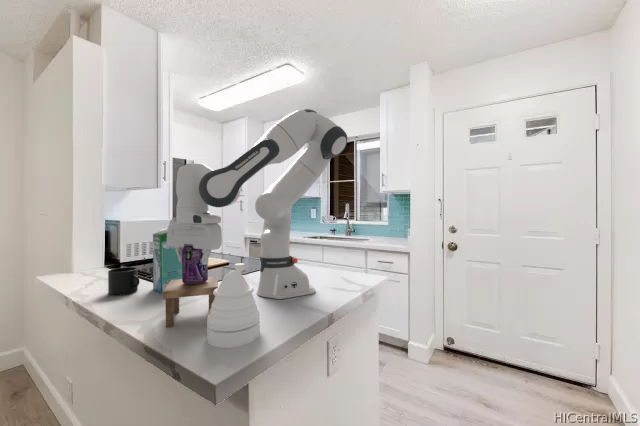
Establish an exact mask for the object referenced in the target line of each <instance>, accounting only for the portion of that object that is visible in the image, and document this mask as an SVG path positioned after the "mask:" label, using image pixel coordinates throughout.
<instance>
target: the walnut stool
mask: <svg viewBox="0 0 640 426" xmlns="http://www.w3.org/2000/svg"><path fill="white" fill-rule="evenodd" d="M218 287H219V276H208V280H207V281H205V282H204V283H202V284H198V285H187V284H185V283H183V282H182V279H176V280H171V281H170V282H169V283H168V285H167V286H166V288H165V289H164V290H163V293H162V300H165V328H170V327H174V325H175V314H179V313H180V298H188V297H197V296H198V297H200V296H208V315H209V314H210V309H211V308H212V307H211V305H212V303H213V301H214V298H215V295H214V294H213V291H214V290H215V289H216V288H218Z"/></svg>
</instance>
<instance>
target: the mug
mask: <svg viewBox="0 0 640 426" xmlns="http://www.w3.org/2000/svg"><path fill="white" fill-rule="evenodd" d="M107 273H108V274H107V275H108V276H107V277H108V279H107V280H108V282H107V283H108V284H107V287H108V288H107V290H108V292H107V293H108V296H112V297H115V296H116V297H119V296H120V297H121V296H127V295H131V294H134V293H137V291H138V289H139V288H138V287H139V285H140V278H139V276H138V273H139V272H138V267H134V266H133V267H132V266H130V267H129V266H128V267H127V266H126V267H119V268H113V269H110V270H108V271H107Z"/></svg>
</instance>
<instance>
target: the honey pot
mask: <svg viewBox="0 0 640 426" xmlns="http://www.w3.org/2000/svg"><path fill="white" fill-rule="evenodd" d="M245 265H246V264H245V263H242V262H239V263H234V268H235V269H233V270H230V271H229V272H228V273H226V275H225V276H224V277H223V278H222V281H221V282H220V285H218V288H216V289H215V290H214V291H213V294H214V295H215V298H214V301H213V303H212V305H211V307H212V308H211V309H210V314H209V313H208V315H207V319H206V341H207V343H208V345H210V346H212V347H215V348H223V349H224V348H236V347H241V346H245V345H247V344H250V343H252V342H254V341H256V340H257V338H259V337H260V333H261V324H260V323H261V322H260V311H259V309H258V306H257V304H256V299H255V298H254V295H253V292H254V291H255V288H254V287H253V286H252V285H251V284H249V283H248V282H247V280H246V278H245V277H244V276H243V274H242V273H241V272H242V271H244V270H245Z"/></svg>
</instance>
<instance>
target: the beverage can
mask: <svg viewBox="0 0 640 426" xmlns="http://www.w3.org/2000/svg"><path fill="white" fill-rule="evenodd" d="M203 254H204V253H202V249H195V248H194V247H193V245H189V244H184V247H183V249H182V282H183V283H185V284H187V285H198V284H202V283H204V282H205V281H207V280H208V277H209V272H208V271H209V269H208V267H209V266H208V265H209V263H208V264H206V265H202V264H200V259H201V258H202V257H203Z"/></svg>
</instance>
